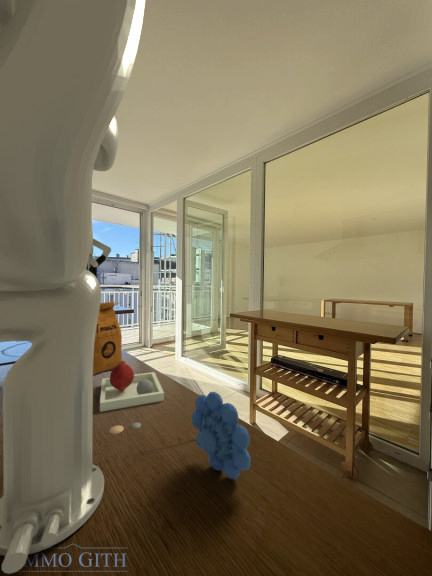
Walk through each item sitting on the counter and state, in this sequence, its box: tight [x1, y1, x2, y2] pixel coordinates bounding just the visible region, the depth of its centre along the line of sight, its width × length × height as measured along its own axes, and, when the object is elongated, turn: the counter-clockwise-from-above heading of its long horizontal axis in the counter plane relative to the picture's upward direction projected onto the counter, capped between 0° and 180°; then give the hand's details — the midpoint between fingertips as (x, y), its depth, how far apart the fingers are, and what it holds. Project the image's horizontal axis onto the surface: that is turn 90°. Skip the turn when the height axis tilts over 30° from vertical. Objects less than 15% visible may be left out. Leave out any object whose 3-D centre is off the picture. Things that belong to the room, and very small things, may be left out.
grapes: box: [191, 391, 252, 480], centre depth 38 cm, size 12×7×12 cm, turn 49°
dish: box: [99, 371, 165, 413], centre depth 62 cm, size 14×14×2 cm
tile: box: [108, 422, 142, 435], centre depth 48 cm, size 6×8×1 cm
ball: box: [136, 379, 153, 395], centre depth 61 cm, size 4×4×4 cm
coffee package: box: [93, 301, 123, 376], centre depth 78 cm, size 10×12×22 cm
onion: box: [109, 359, 135, 391], centre depth 63 cm, size 6×6×8 cm
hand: (65, 285), depth 51 cm, fingers open, 9 cm apart
